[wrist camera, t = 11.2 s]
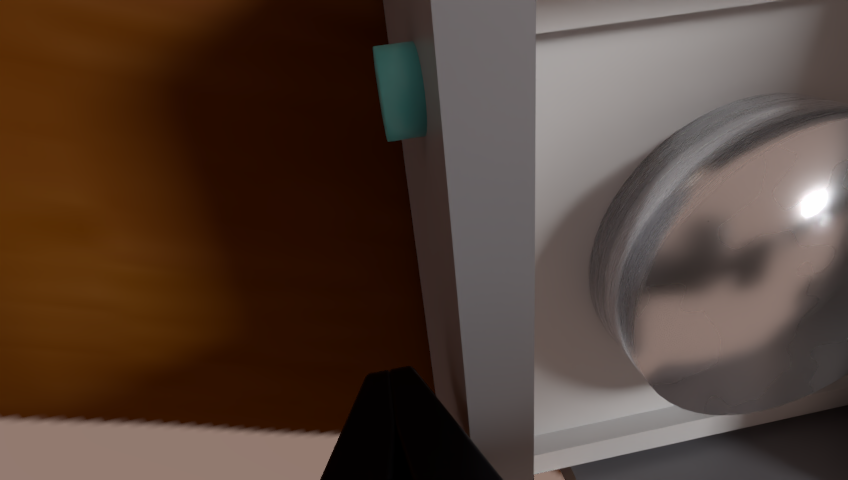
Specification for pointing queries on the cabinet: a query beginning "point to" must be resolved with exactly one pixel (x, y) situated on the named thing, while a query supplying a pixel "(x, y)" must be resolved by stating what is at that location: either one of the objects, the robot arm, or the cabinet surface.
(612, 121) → the tray
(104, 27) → the cabinet surface
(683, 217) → the disc
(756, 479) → the housing
